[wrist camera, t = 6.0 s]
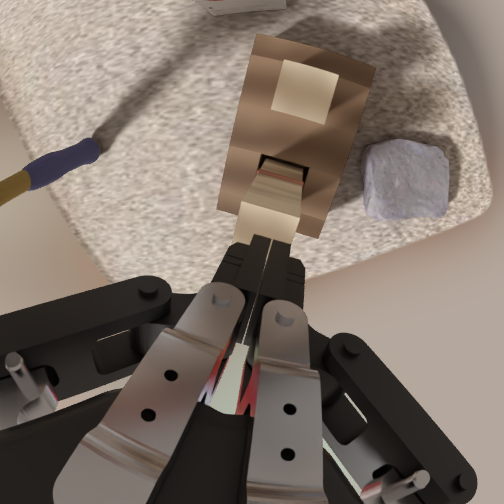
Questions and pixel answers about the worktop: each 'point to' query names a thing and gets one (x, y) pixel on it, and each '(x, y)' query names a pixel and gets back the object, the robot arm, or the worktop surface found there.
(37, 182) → the rubber mallet
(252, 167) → the wooden mortise block
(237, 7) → the supplement box
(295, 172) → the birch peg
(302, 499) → the robot arm
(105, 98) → the worktop surface
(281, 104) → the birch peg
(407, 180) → the stone block
